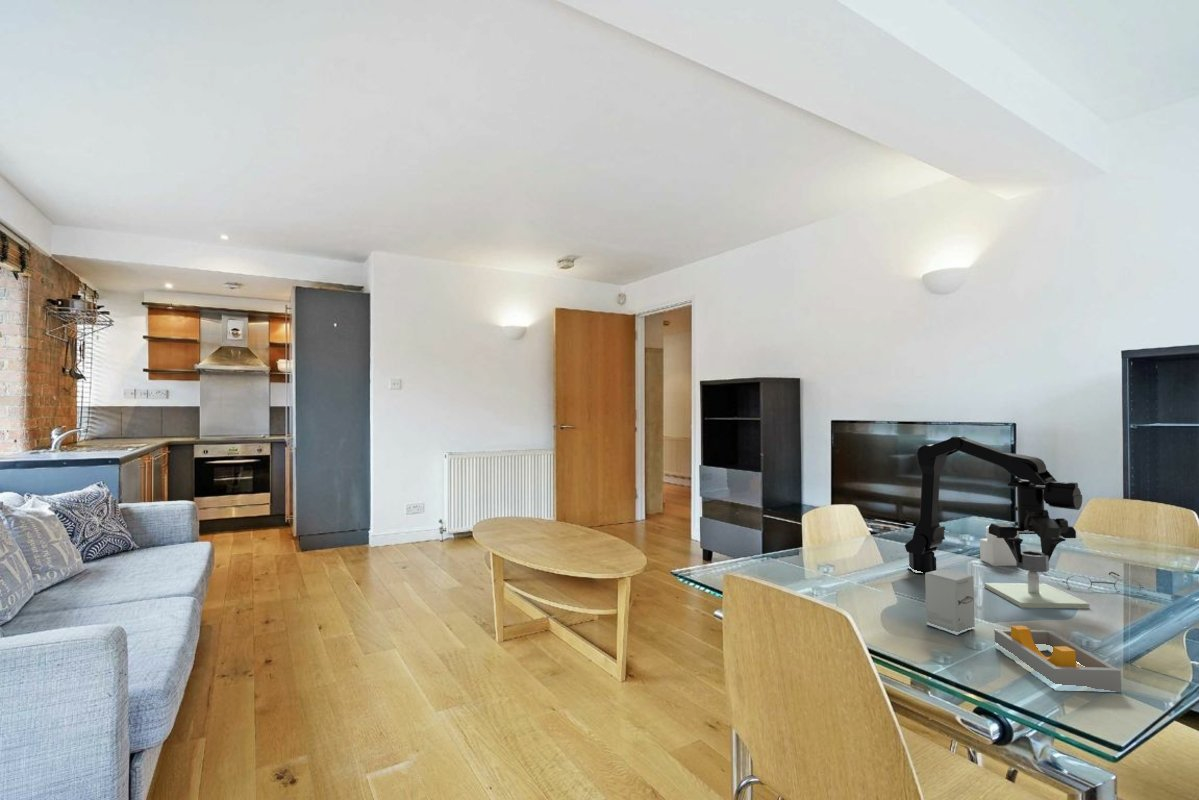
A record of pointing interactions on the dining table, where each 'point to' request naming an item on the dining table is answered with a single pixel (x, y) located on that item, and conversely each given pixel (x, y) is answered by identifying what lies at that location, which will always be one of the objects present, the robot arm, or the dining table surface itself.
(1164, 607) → the dining table surface
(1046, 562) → the hub ring
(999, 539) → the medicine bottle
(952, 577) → the supplement box
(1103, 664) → the parts frame
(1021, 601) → the post board
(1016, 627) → the pipe clamp
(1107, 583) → the eyeglasses
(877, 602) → the dining table surface
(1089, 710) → the dining table surface
